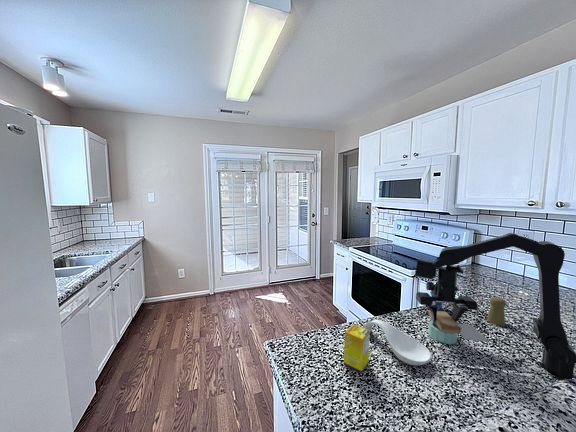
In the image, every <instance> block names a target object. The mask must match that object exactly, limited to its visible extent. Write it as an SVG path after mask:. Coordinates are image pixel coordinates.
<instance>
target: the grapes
mask: <svg viewBox="0 0 576 432" xmlns="http://www.w3.org/2000/svg"><path fill="white" fill-rule="evenodd" d="M429 295H430V296H433V297H437V295H434V293H431V290H429ZM442 304H443V305H444V304H446V303H440V302H435V305H436V306H437V311H440V309H443V305H442Z"/></svg>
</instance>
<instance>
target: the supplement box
mask: <svg viewBox="0 0 576 432" xmlns="http://www.w3.org/2000/svg"><path fill="white" fill-rule="evenodd" d="M370 336H371V332H370V330H367V329H364V327H361V326H358V325H356V324H352V325H351V326H349V327H348V328H347V329H346V330H345V331H344V346H343V347H344V348H343V365H344V366H345V367H346V368H347V367H348V368H349V369H352V370H354V371H355V372H357V373H360V374H362V373H363V372H364V370H365V369H366V368H367V366H368V364H369V361H370V338H371V337H370Z"/></svg>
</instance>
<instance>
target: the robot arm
mask: <svg viewBox="0 0 576 432" xmlns="http://www.w3.org/2000/svg"><path fill="white" fill-rule="evenodd" d="M507 248H509V249H510V248H516V249H518V250H521V251H523V252H526V253H528V254H532V256H533V259H534V262H535V263H534V264H535V266H536V267H537V271H538V282H539V283H538V286H539V306H540V315H539V316H538V318H537V317H532V322H533V327H532V331H533V333H534V334H535V336H536V338H537V339H539V341H540V343H541V344H542V346H543V347H544V348H543V350H542V351H543V352H542V357H541V362H540V361H536V364H538V365H539V366H540V367H541V368H543V369H544V370H545V371H546V372H547V373H548V374H549V375H551V377H552V378H554V379H559V380H565V379H572V378H575V377H576V376H575V375H574V371H575V364H576V351H575V350H574V348H573V347H572V346H571V345H570V344H569V340H568V337H567V334H566V331H565V329H564V325H563V322H562V321H561V305H560V304H561V302H560V301H561V299H560V281H559V280H560V277H559V275H560V272H561V269H562V267H563V265H564V260H565V256H566V254H565V250H564V249H563V248H562V247H561V246H560V245H557V244H555V243H554V242H550V241H547V240H541V241H537V240H534V239H531V238H528V237H524V236H522V235H519V234H517V233H515V232H508V233H506V234H503V235H500V236H496V237H493V238H490V239H486V240H482V241H478V242H474V243H471V244H467V245H456V246H448V247H444V248H442V249H441V251H440V253H439V256H437V257H436V258H435V259H434V261H431V260H430V261H429V260H423V259H422V258H421V259H420V258H418V259H417V262H416V266H415V267H416V268H415V270H414V271H415V272H414V275H415V277H417V278H421V279H427V280H433V279H434V278H437V281H435V284H434V283H433V282H431V281H427V282H426V284H425V285H426V286H425V287H426V291H431V293H434V295H437V297H433V296H431V294H430V293H428V292H423V291H422V292H421V291H418V292H417V293H415V299H416V300H417V302H418V303H419V304H420V305H421V306H426V307H428V308H429V310H430V311H431V315H432V318H433V320H432V321H434V322H436V317H437V311H438V310H437V306H436V305H435V302H440V303H445V304H452V307H453V310H452V316H451V318H452V319H453V320H454V321H455V322H456V323H457V322H458V321H459V319H460V318H461V317H462V316H463V315H464V314H465V313H466V312H469V311H470V310H471V311H478V309H479V304H478V302H477V301H476V300H474V299H473V298H472V297H470V296H469V295H467V296H466V295H458V296H457V297H456V292H458V290H459V289H458V287H457V279H458V274H464V273H465V272H464V271H465V270H464V269H463V268H462V267H461V266H460V263H462V262H464V261H466V260H468V259H470V258H472V257H476V256H480V255H485V254H488V253H491V252H495V251H500V250H505V249H507ZM437 270H438V273H437ZM437 274H438V275H437ZM575 379H576V378H575Z"/></svg>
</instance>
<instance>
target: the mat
mask: <svg viewBox="0 0 576 432" xmlns="http://www.w3.org/2000/svg"><path fill="white" fill-rule="evenodd" d="M456 323H457V322H456ZM457 324H458V325H459V326H460V327H461V334H460V336H461V337H462V338H463V339H464V340H467V341H468V340H469V341H475V342H476V341H477V342H482V343H483V342H484V343H490V341H489V340H488V339H487V338H486V337H485V336H484V335H483V334H482V333H481V332H480V331H478V329H476V327H475V326H473V325H472V324H468V323H467V324H465V323H457Z"/></svg>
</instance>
